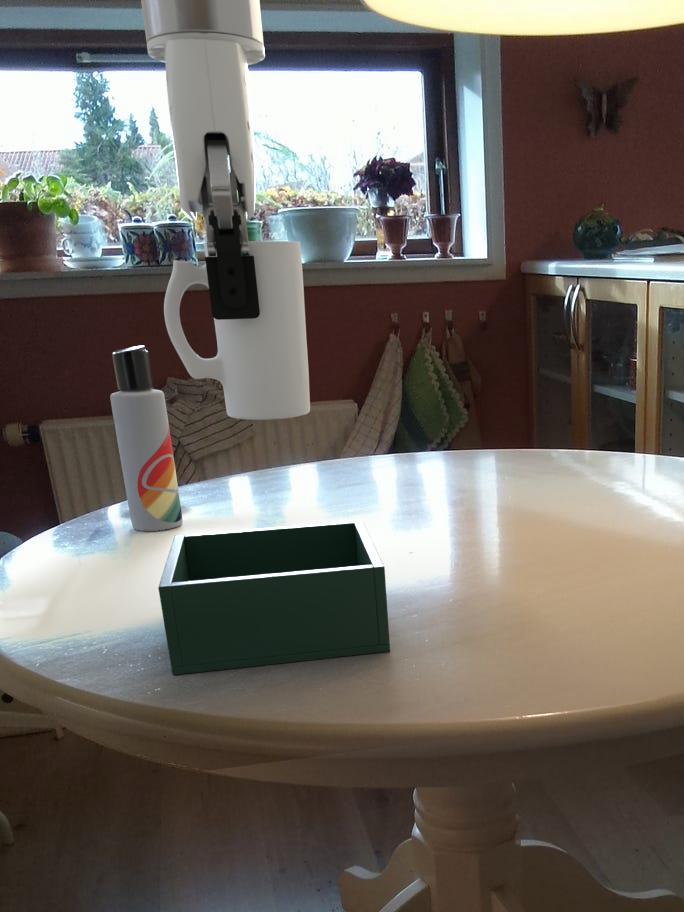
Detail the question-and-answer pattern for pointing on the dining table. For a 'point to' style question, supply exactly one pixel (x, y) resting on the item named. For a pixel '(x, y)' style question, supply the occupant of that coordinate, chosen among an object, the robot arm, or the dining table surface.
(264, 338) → the mug
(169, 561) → the bin
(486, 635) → the dining table surface
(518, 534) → the dining table surface
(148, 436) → the lotion bottle
